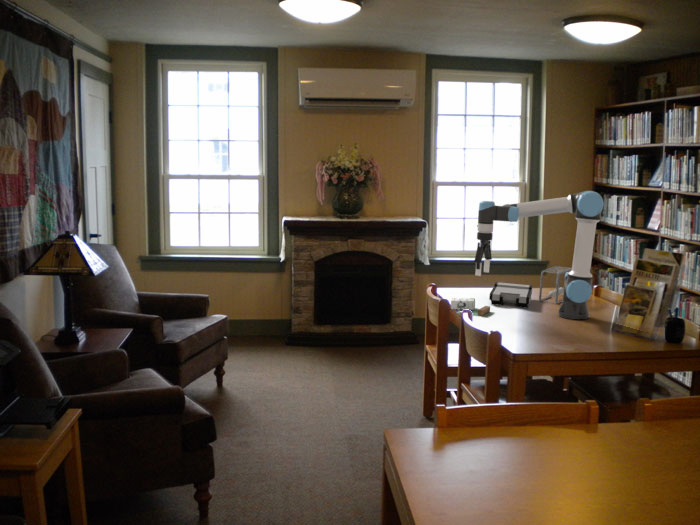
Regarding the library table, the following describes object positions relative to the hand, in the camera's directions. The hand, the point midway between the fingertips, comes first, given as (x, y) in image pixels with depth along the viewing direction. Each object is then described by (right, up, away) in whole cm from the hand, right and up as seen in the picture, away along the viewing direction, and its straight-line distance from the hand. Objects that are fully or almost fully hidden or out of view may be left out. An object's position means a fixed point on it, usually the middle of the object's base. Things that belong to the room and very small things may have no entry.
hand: (482, 274), depth 358 cm
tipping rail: (+1, -20, +2) cm, 20 cm away
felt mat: (-3, -20, +4) cm, 21 cm away
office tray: (+23, -17, +37) cm, 46 cm away
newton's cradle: (+52, -16, +51) cm, 75 cm away
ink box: (-2, -16, +11) cm, 19 cm away
